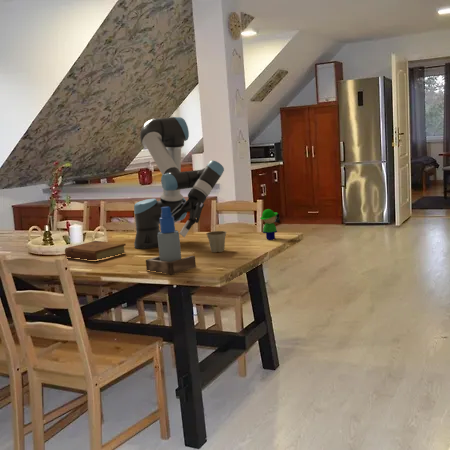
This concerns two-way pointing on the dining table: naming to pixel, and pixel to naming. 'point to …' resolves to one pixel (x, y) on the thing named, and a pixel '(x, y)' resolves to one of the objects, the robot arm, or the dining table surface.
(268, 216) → the toy
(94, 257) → the diary
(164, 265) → the rest
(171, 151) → the robot arm
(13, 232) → the dining table surface
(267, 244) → the dining table surface
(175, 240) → the blue and grey bottle
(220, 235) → the flower pot
